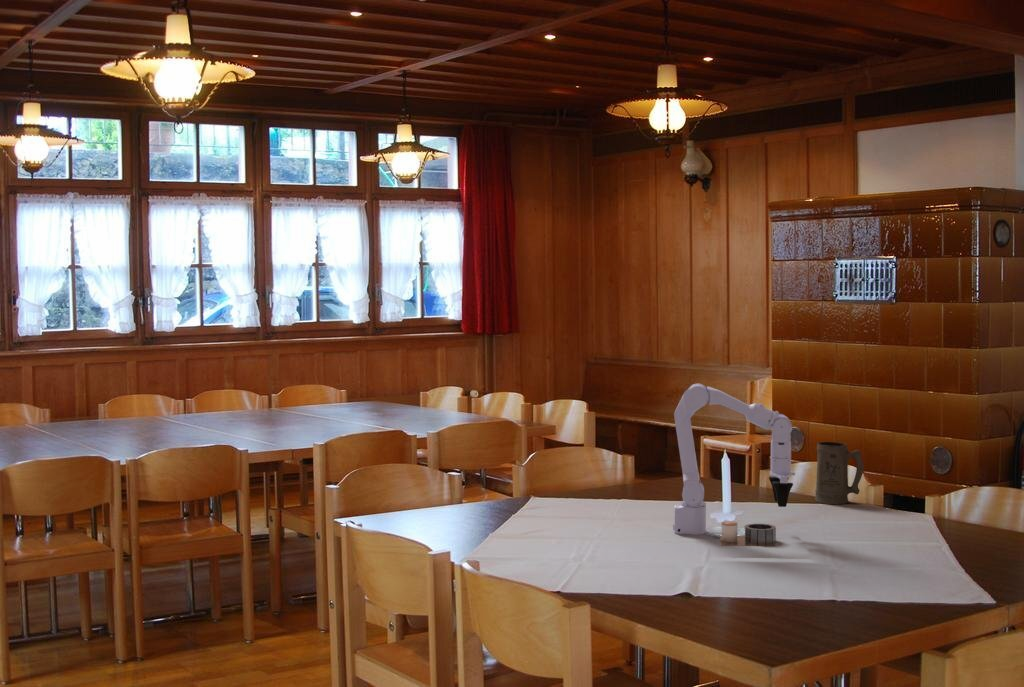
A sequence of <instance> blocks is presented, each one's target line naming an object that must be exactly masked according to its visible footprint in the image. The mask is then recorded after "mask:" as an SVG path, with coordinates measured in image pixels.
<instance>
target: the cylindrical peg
mask: <svg viewBox="0 0 1024 687" xmlns="http://www.w3.org/2000/svg"><path fill="white" fill-rule="evenodd" d="M721 535H722V541H724V542H736V541H737V535H738V522H737V521H733V520H732V521H731V520H730V521H729V520H725V521H721Z"/></svg>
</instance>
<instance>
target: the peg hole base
mask: <svg viewBox="0 0 1024 687" xmlns="http://www.w3.org/2000/svg"><path fill="white" fill-rule="evenodd" d="M776 536H777V528H776V526H775V525H772V524H769V523H768V524H767V523H749V524H746V525H744V535H740V536H737V541H736V542H724V541H722V536H720V534H718V538H719V540H720V543H721V546H724V547H725V546H726V547H728V546H729V547H736V546H737V547H778V545H777V543H776V541H777V537H776Z"/></svg>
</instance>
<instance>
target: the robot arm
mask: <svg viewBox="0 0 1024 687" xmlns="http://www.w3.org/2000/svg"><path fill="white" fill-rule="evenodd" d="M708 402H709V403H708ZM707 404H708V405H709V406H714V405H720V406H723V407H726V408H728V409H730V410H733V411H735V412H737V413H739V414H742V415H744V416H745V419H746V421H747V422H748V423H751V424H753V425H755V426H758V427H760V428H761V429H764V430H766V431H768V430H771V440H770V471H769V475H770V476H768V480H769V482H770V485H771V488H772V494H773V499H774V502H777V506H778V507H779V508H780V507H781V508H782V507H783V508H786V507H787V504H788V501H789V500H788V499H789V495H790V493H791V490H792V488H793V486H794V483H793V482H788V481H789V478H790V477H791V476H796V472H795V471H792V441H791V439H792V437H791V436H792V435H791V433H792V431H793V425H792V422H791V420H790V419H789V417H788V416H786V415H785V414H784V413H780V412H779V411H778V410H775V411H774V410H771V409H770V408H768V407H765V404H763V403H761V402H759V403H757V402H754V403H752V404H748V403H746V402H743V401H741V400H739V399H738V398H736V397H734V396H732V395H730V394H728V393H726V392H724V391H722V390H720V389H718V388H714V387H711V386H706V385H705V384H703V383H699V382H698V383H694V384H691V385H690V386H689V387H688V388H687V389H686V390H685V391H684V392H683V394H682V396H681V398H680V401H679V402H678V404H677V407H676V408H675V410H674V413H673V416H674V417H673V418H674V423H675V431H676V436H677V438H676V439H677V444H678V445H677V446H678V450H679V458H680V466H681V471H682V480H683V481H682V482H683V488H682V492H681V498H682V501H680V504H674V506H673V524H672V530H673V531H674V534H675V535H703V534H706V532H707V503H706V502H705V500H704V499H705V486H704V484H703V483H702V481H701V479H700V473H699V469H698V461H697V454H696V450H695V449H696V448H695V440H694V434H693V429H692V419H691V418H692V417H693V416H694V414H695V413H696V412H697V411H698V410H699V409H702V408H703V407H704V406H706V405H707Z"/></svg>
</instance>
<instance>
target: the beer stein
mask: <svg viewBox="0 0 1024 687" xmlns="http://www.w3.org/2000/svg"><path fill="white" fill-rule="evenodd" d="M816 452H817V456H816V457H817V458H816V459H817V462H816V463H817V465H816V482H815V483H816V486H815V497H814V501H815V502H816V503H819V504H825V505H844V504H848V503H849V498H848V497H849V496H848V495H849V494H855V495H859V494H860V492H861V490H860V488H859V483H860V481H861V480H862V476H863V473H864V463H863V459H862V457H861V450H860V449H859V450H858V449H855V450H853V451H849V449H848V445H847V443H844V442H836V441H835V442H834V441H820V442H818V443H817V445H816ZM851 458H852V459H854V461H855V462H856V472H855V476H854V479H853V482H852V484H851V486H849V477H848V476H849V475H848V474H849V472H848V468H849V467H848V459H851Z"/></svg>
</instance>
